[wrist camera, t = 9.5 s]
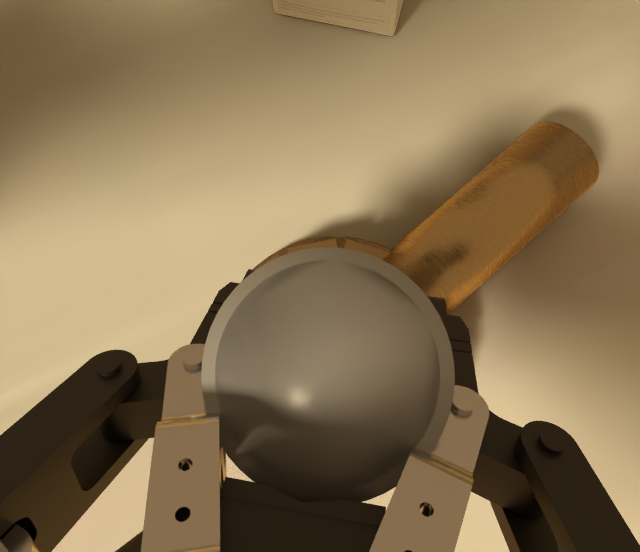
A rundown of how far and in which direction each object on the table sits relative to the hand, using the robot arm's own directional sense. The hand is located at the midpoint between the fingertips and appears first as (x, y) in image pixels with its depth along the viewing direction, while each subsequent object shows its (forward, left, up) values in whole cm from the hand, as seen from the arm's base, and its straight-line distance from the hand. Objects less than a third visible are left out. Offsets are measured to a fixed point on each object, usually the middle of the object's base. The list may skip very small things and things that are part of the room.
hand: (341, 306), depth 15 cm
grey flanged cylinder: (+1, -1, -4) cm, 5 cm away
